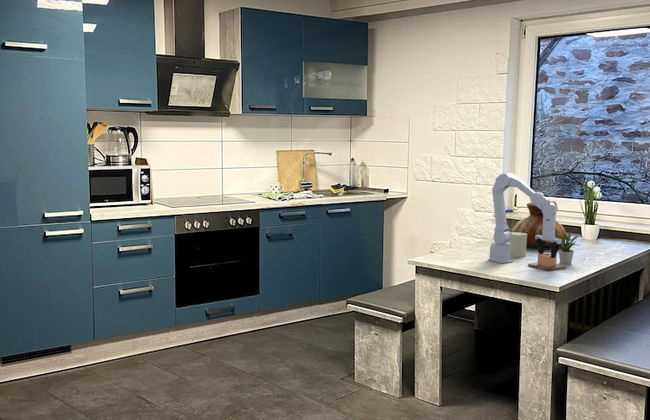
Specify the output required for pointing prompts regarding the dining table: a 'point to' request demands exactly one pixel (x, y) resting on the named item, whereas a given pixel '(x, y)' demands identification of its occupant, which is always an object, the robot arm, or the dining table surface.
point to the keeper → (546, 267)
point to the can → (518, 244)
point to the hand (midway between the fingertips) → (547, 256)
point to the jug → (536, 226)
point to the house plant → (566, 249)
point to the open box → (546, 260)
